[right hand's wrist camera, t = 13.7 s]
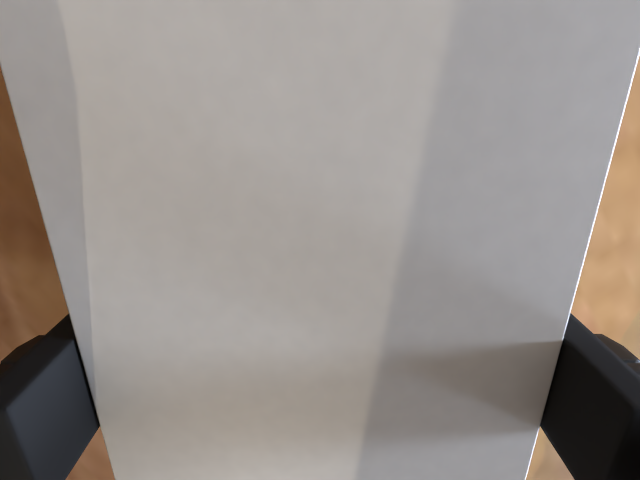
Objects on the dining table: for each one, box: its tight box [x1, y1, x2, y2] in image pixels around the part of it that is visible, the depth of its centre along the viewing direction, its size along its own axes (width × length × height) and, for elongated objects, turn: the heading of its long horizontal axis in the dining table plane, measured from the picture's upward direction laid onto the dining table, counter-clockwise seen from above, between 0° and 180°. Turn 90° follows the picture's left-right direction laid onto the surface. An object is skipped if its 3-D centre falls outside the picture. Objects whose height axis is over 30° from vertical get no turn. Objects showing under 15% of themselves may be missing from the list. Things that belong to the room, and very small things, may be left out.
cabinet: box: [0, 0, 640, 480], centre depth 11 cm, size 19×11×8 cm, turn 0°
